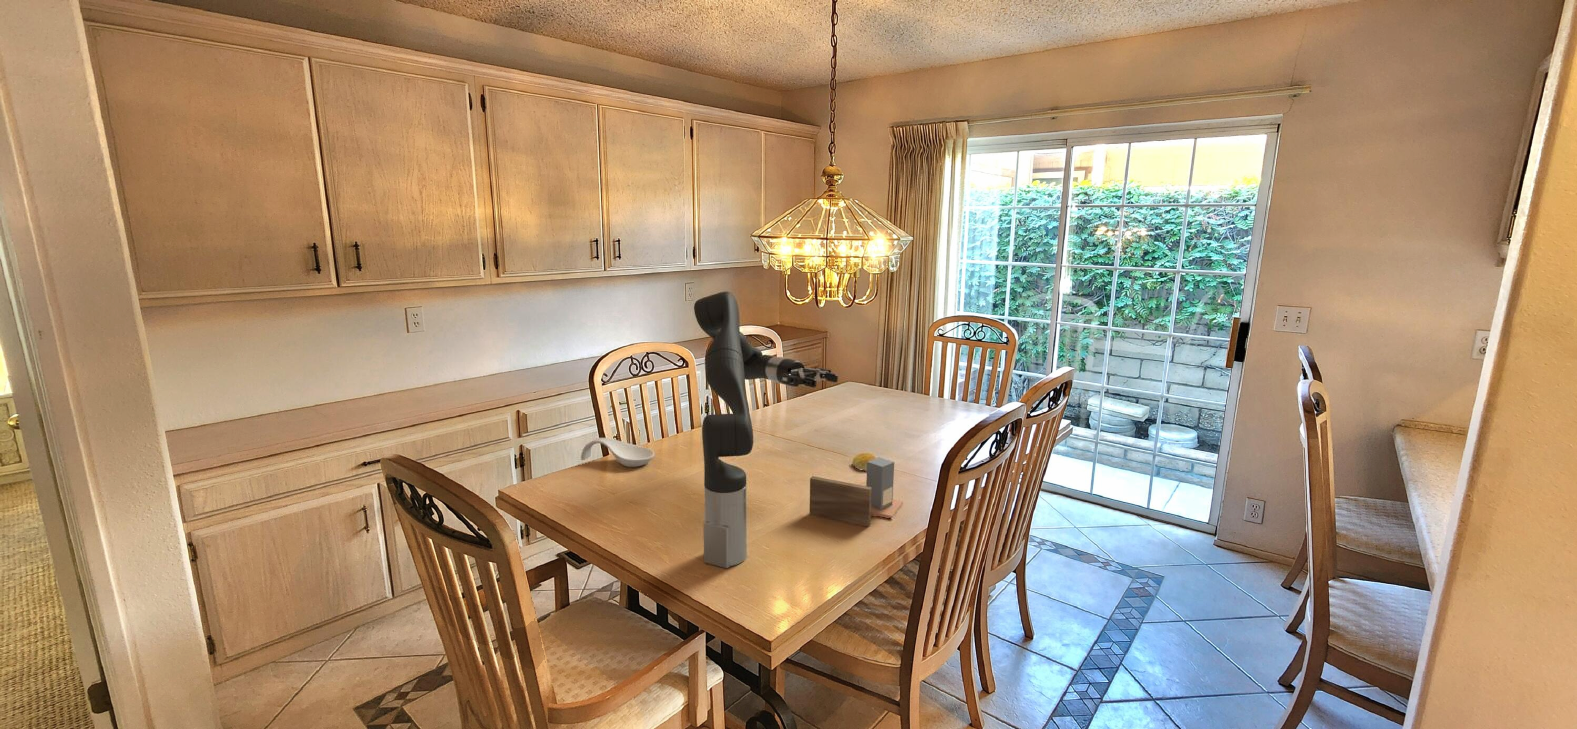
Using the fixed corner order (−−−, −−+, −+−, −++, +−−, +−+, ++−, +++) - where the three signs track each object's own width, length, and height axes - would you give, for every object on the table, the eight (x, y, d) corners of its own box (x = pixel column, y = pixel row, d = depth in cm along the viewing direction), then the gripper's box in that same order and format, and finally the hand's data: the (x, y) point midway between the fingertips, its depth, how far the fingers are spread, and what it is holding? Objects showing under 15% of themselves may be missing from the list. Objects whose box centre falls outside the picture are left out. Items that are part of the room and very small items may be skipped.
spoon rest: (660, 459, 205) (660, 438, 203) (644, 473, 194) (643, 450, 192) (593, 452, 210) (592, 431, 209) (573, 465, 199) (572, 443, 197)
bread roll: (872, 460, 205) (873, 448, 205) (883, 471, 197) (884, 458, 196) (848, 462, 203) (848, 450, 203) (858, 473, 195) (858, 460, 194)
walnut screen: (868, 527, 160) (869, 489, 157) (809, 514, 166) (810, 478, 164) (870, 524, 161) (871, 487, 159) (811, 512, 168) (812, 476, 166)
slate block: (892, 505, 170) (894, 462, 167) (881, 510, 167) (883, 467, 164) (877, 499, 174) (879, 457, 171) (865, 504, 170) (867, 461, 168)
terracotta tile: (891, 519, 164) (892, 515, 164) (854, 511, 168) (854, 508, 168) (902, 504, 173) (902, 501, 172) (867, 497, 177) (867, 494, 177)
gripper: (766, 361, 179) (808, 371, 168) (802, 355, 189) (844, 363, 178) (766, 387, 181) (808, 399, 170) (802, 379, 191) (843, 390, 179)
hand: (826, 381), depth 174 cm, fingers open, 8 cm apart
